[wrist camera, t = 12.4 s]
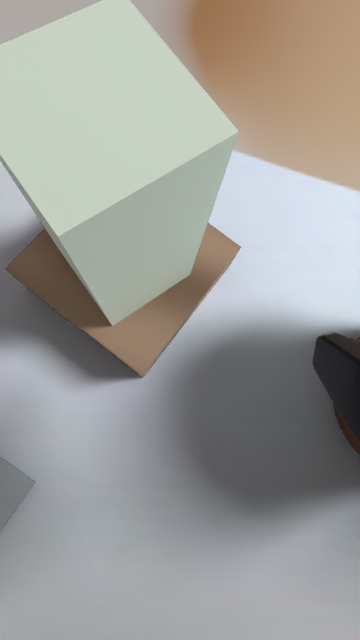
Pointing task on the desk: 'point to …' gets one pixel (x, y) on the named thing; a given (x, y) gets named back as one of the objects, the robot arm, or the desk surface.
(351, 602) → the desk surface
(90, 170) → the sage block
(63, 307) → the walnut block
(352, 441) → the food container
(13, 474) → the card
